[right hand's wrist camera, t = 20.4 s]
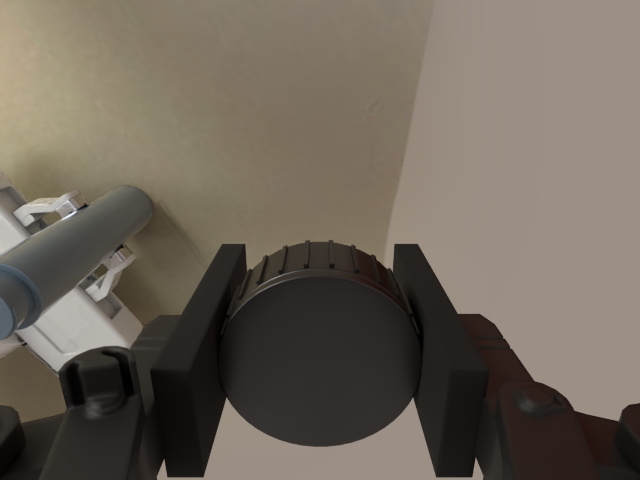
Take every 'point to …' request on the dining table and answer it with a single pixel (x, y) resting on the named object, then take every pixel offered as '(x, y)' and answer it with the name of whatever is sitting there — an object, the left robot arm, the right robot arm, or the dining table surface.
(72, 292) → the left robot arm
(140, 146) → the dining table surface
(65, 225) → the grey cylindrical container
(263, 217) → the dining table surface
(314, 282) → the lid
